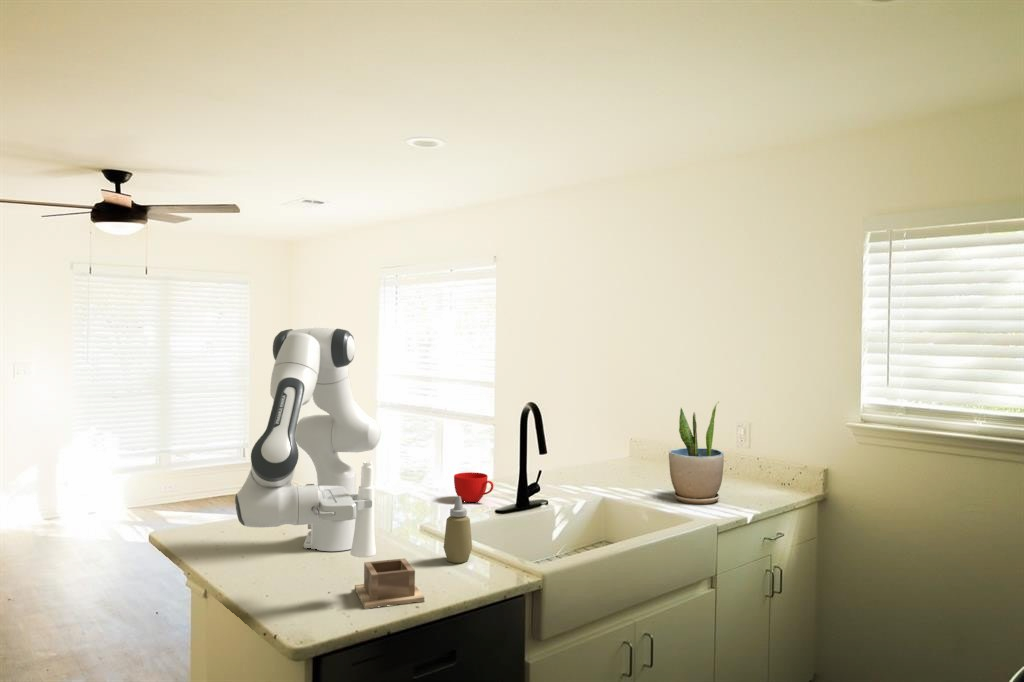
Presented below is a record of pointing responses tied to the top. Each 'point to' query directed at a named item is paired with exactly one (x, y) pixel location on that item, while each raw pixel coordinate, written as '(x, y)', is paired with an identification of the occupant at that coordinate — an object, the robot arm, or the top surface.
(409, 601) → the holder
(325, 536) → the robot arm
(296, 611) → the top surface
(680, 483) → the potted plant
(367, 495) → the cosmetic bottle
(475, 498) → the ceramic cup
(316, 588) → the top surface
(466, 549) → the squeeze bottle
